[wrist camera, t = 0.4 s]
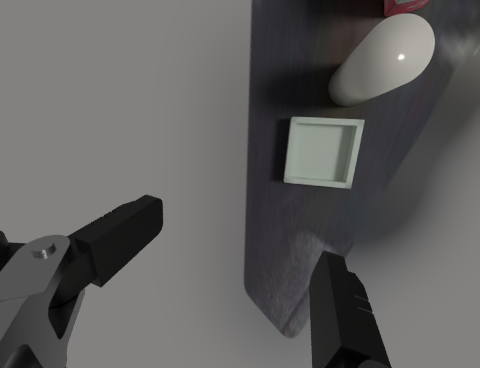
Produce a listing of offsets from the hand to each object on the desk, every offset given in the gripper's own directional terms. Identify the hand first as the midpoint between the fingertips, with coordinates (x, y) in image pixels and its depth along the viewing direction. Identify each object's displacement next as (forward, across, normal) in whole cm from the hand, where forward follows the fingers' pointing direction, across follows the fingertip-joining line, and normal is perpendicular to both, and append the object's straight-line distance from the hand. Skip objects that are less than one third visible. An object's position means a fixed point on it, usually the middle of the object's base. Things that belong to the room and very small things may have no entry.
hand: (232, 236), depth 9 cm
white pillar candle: (+28, -8, -9) cm, 30 cm away
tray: (+26, -6, +1) cm, 26 cm away
